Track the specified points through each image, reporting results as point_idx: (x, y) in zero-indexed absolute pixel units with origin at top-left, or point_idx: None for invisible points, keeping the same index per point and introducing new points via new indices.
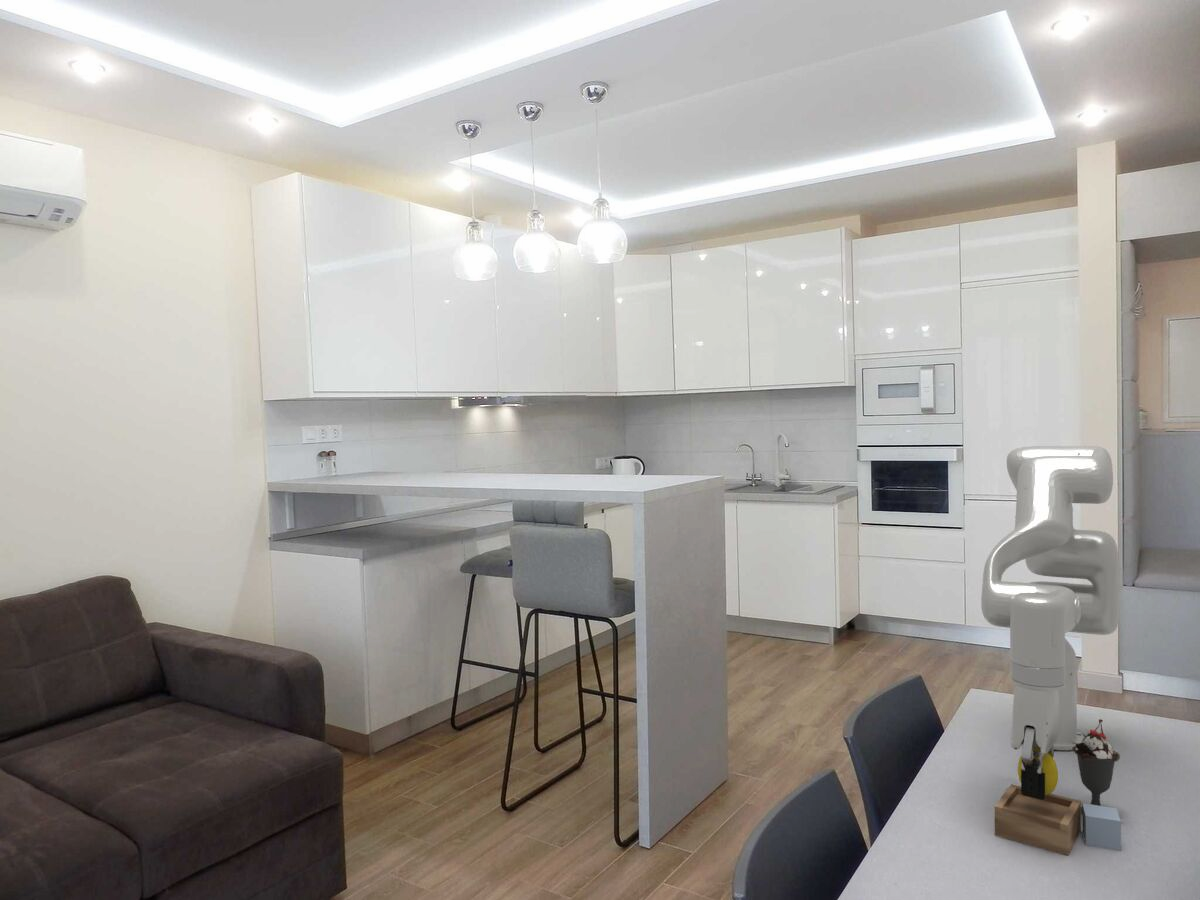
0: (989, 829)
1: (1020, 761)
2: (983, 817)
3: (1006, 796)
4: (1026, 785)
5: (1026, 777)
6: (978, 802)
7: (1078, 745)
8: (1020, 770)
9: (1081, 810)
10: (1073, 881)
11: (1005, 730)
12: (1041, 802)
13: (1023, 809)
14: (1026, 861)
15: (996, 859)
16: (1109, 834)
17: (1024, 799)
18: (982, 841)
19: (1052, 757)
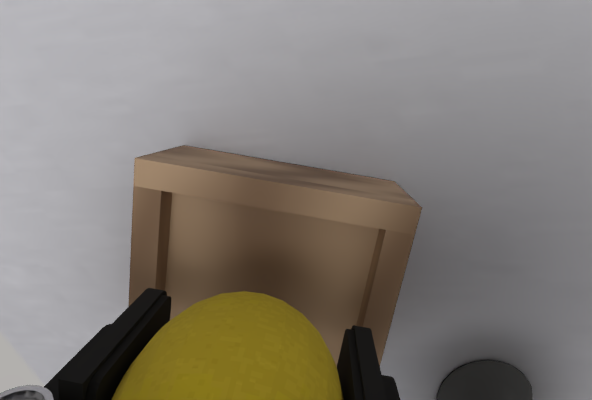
0: (217, 126)
1: (154, 388)
2: (301, 98)
3: (265, 197)
4: (91, 342)
5: (59, 377)
6: (427, 66)
7: None
8: (153, 346)
9: (479, 370)
10: (43, 334)
11: None
12: (337, 306)
13: (239, 250)
14: (74, 236)
15: (33, 162)
16: None
17: (338, 251)
18: (120, 114)
19: None
